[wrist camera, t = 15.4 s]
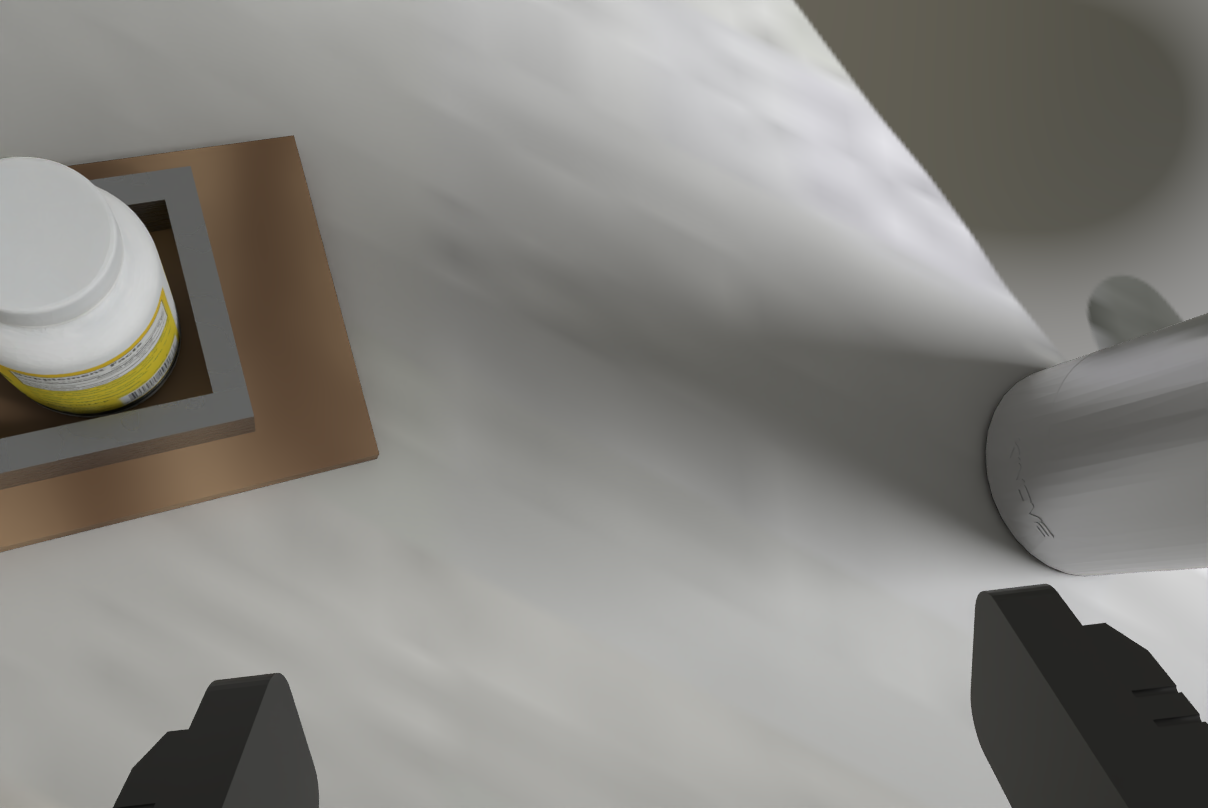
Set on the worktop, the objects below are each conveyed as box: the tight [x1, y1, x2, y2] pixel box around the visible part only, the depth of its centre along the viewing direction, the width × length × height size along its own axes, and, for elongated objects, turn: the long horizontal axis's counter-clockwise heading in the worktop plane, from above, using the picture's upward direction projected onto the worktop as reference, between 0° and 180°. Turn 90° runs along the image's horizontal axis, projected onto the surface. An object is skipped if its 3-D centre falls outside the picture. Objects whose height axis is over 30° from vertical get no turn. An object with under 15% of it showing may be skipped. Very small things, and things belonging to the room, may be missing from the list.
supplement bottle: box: [0, 156, 181, 417], centre depth 29 cm, size 5×5×10 cm
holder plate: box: [0, 136, 379, 552], centre depth 34 cm, size 16×12×1 cm
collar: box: [0, 166, 255, 490], centre depth 32 cm, size 8×8×2 cm
